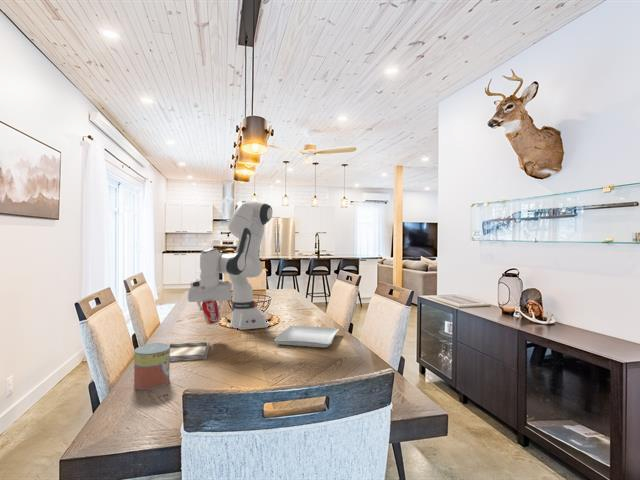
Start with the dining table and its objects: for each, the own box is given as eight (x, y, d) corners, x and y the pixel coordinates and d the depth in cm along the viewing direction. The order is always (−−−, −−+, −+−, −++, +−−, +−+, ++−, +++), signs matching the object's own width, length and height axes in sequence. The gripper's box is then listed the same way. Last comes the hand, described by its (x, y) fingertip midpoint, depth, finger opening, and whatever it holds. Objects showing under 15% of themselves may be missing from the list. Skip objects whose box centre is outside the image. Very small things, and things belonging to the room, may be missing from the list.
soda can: (207, 326, 168) (201, 302, 167) (205, 323, 174) (200, 300, 173) (222, 321, 171) (216, 298, 170) (220, 319, 177) (214, 296, 176)
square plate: (289, 331, 191) (289, 324, 191) (339, 335, 186) (339, 327, 186) (273, 346, 165) (273, 338, 165) (330, 351, 159) (330, 343, 159)
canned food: (162, 389, 117) (163, 353, 117) (127, 390, 117) (128, 353, 116) (174, 375, 129) (174, 343, 129) (142, 376, 128) (142, 343, 128)
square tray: (209, 345, 164) (209, 341, 164) (206, 358, 147) (206, 354, 147) (168, 347, 160) (168, 343, 160) (159, 361, 143) (159, 356, 143)
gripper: (231, 280, 177) (232, 307, 177) (188, 281, 173) (189, 309, 173) (231, 282, 171) (231, 310, 171) (186, 283, 166) (187, 312, 167)
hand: (210, 309), depth 172 cm, fingers closed on soda can, 7 cm apart
